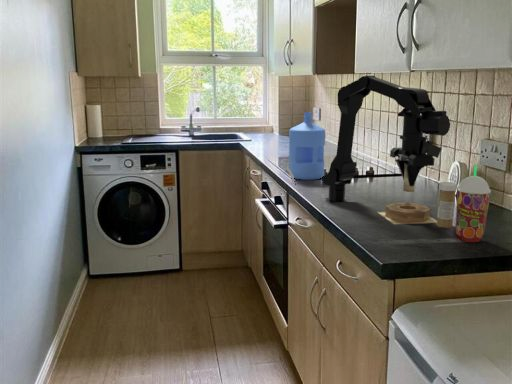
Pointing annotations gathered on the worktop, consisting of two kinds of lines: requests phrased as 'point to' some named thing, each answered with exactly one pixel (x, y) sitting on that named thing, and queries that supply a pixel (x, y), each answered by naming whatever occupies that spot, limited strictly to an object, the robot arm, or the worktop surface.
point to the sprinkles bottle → (446, 204)
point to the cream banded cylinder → (407, 184)
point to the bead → (407, 212)
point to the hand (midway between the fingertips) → (409, 184)
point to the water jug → (306, 150)
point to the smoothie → (472, 208)
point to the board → (405, 222)
